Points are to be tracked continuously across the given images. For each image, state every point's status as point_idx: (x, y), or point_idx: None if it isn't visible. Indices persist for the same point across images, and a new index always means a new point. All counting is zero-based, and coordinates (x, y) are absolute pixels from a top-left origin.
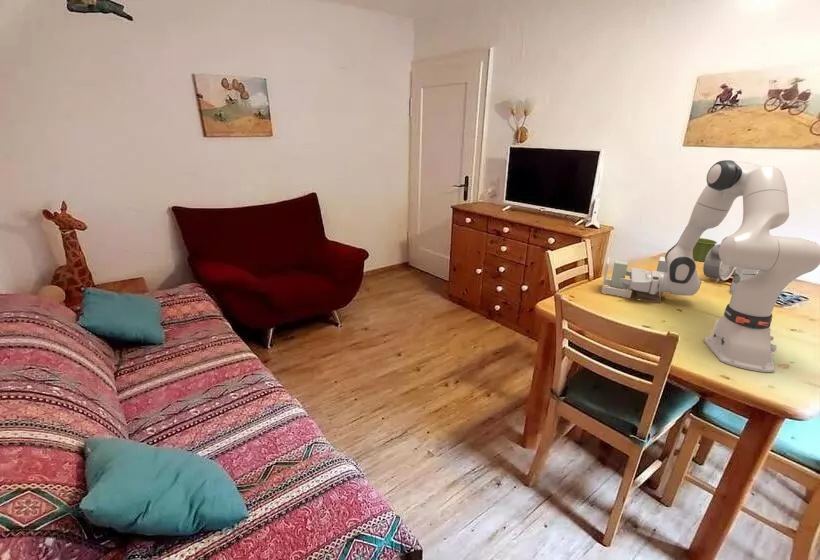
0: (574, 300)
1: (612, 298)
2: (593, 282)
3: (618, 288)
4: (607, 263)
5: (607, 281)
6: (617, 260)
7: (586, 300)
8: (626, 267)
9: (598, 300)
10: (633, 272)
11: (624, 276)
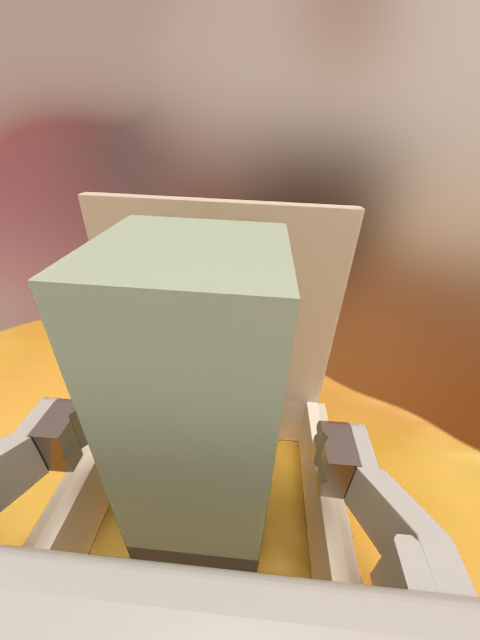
0: (36, 322)
1: (39, 483)
2: (332, 392)
3: (80, 485)
4: (106, 193)
5: (307, 431)
6: (277, 231)
7: (28, 355)
8: (57, 329)
9: (16, 399)
10: (274, 626)
11: (99, 449)
